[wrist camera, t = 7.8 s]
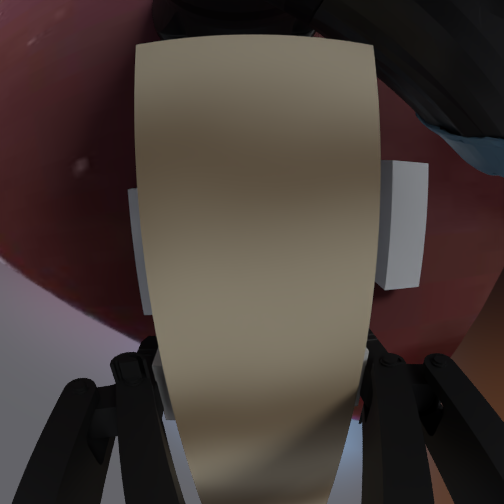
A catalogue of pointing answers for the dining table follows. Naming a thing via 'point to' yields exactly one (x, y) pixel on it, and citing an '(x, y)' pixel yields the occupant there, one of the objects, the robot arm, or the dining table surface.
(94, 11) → the dining table surface
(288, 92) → the pine batten
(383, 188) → the slab
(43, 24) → the dining table surface
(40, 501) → the robot arm
